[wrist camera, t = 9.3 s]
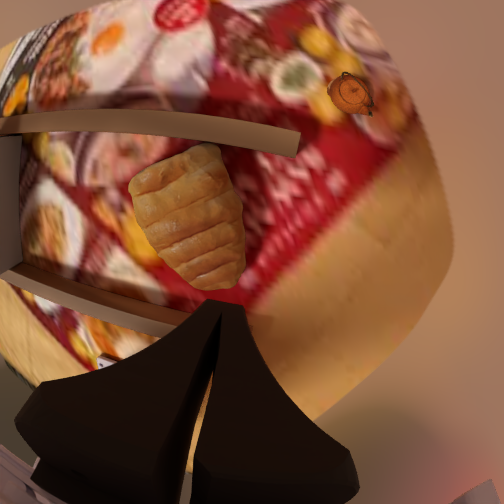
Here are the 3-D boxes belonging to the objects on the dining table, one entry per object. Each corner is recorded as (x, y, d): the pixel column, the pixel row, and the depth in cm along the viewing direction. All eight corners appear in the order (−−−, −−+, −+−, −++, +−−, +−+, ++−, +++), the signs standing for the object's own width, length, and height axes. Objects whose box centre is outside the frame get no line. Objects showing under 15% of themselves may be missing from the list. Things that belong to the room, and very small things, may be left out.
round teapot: (366, 78, 14) (381, 68, 12) (368, 119, 15) (384, 115, 13) (324, 73, 15) (334, 61, 12) (326, 115, 16) (337, 109, 13)
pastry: (270, 263, 19) (271, 289, 16) (186, 293, 20) (171, 321, 17) (216, 134, 16) (203, 130, 13) (130, 178, 18) (102, 186, 14)
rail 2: (248, 340, 21) (247, 357, 19) (9, 269, 21) (-3, 277, 19) (252, 326, 21) (251, 341, 19) (7, 256, 20) (-5, 263, 18)
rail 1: (291, 157, 17) (295, 158, 15) (6, 134, 16) (-9, 135, 14) (296, 135, 16) (300, 132, 14) (8, 118, 15) (-6, 119, 13)
